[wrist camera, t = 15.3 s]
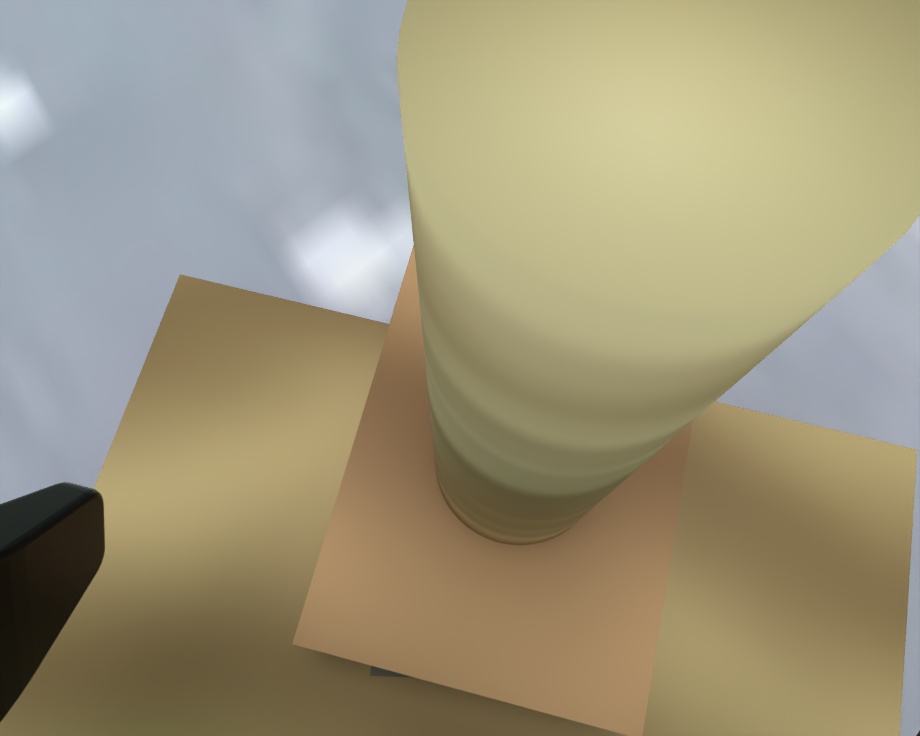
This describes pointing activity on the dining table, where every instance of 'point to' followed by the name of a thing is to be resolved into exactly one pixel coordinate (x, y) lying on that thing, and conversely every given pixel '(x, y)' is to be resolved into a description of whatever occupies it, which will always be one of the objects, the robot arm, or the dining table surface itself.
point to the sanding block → (594, 314)
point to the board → (412, 699)
